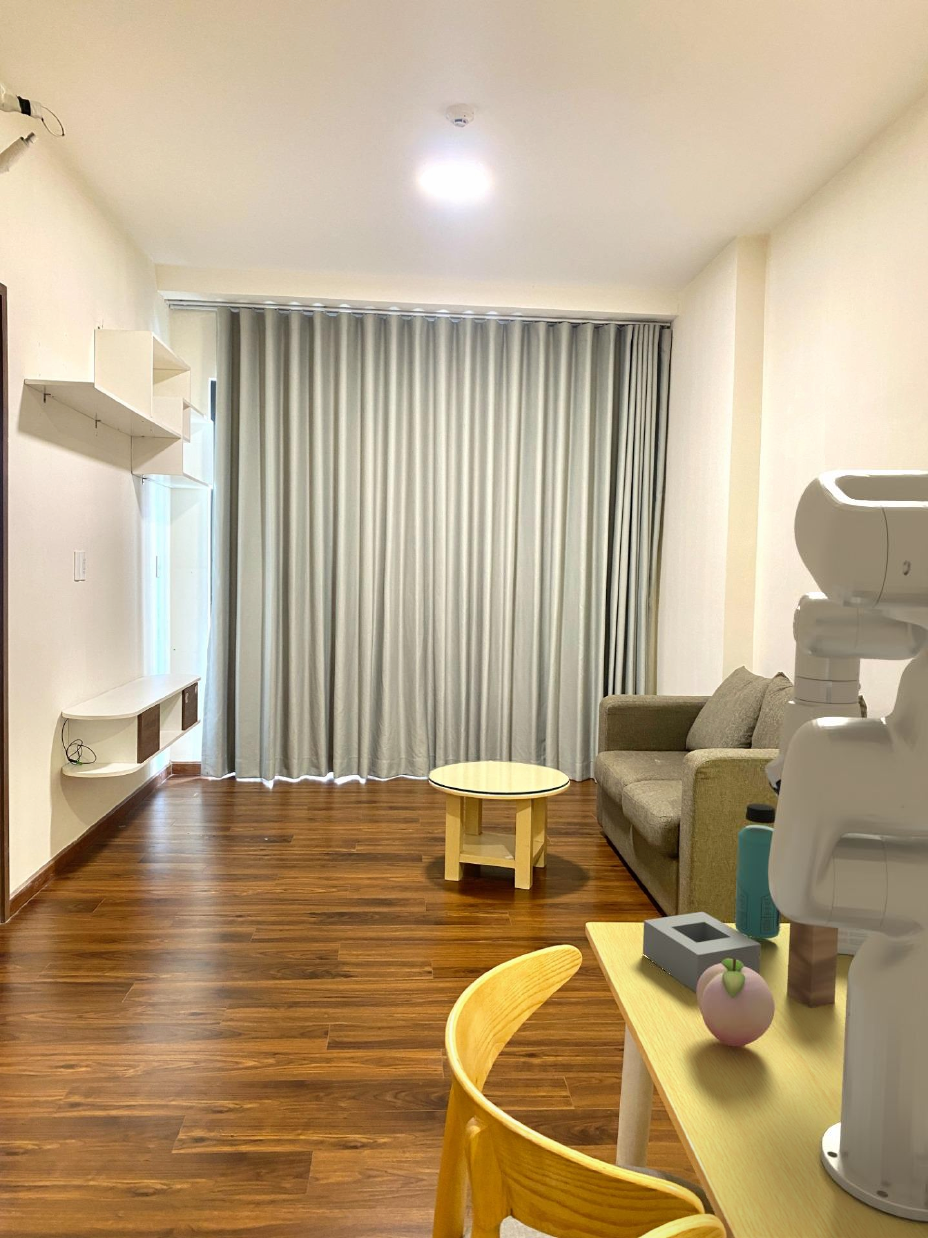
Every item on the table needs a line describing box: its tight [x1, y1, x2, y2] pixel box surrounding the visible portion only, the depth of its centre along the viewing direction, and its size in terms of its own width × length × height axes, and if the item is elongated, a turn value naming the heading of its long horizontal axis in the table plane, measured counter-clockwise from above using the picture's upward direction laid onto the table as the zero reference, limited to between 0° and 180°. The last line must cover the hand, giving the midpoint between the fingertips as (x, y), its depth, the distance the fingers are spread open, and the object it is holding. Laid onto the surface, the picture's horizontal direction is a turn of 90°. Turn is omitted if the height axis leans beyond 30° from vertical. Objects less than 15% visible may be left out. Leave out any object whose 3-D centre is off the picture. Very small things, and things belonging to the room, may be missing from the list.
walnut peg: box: [786, 919, 838, 1009], centre depth 114 cm, size 4×4×12 cm
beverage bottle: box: [733, 802, 782, 940], centre depth 132 cm, size 6×7×20 cm
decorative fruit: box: [696, 958, 776, 1047], centre depth 102 cm, size 9×8×10 cm
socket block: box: [642, 911, 761, 994], centre depth 122 cm, size 12×10×5 cm
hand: (818, 826), depth 113 cm, fingers open, 9 cm apart
